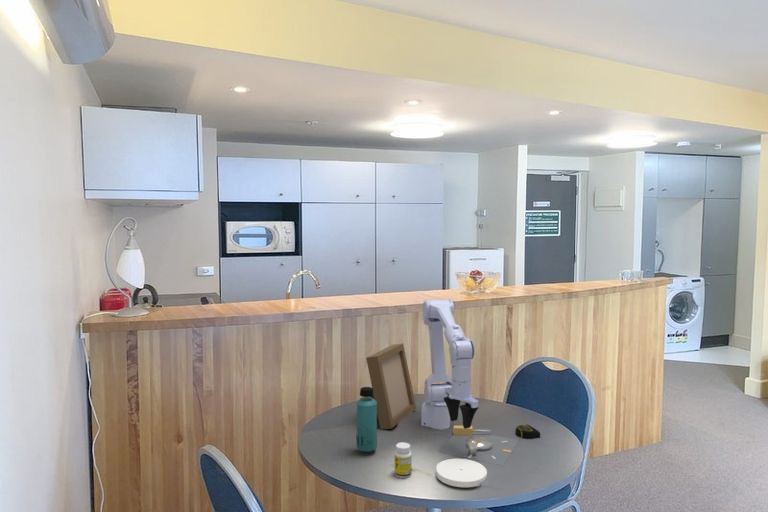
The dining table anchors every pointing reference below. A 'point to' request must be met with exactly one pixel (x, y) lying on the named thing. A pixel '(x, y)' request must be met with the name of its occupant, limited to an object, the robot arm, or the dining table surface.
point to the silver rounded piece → (478, 444)
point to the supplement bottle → (403, 460)
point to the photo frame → (391, 385)
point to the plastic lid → (461, 472)
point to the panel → (494, 455)
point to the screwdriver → (466, 431)
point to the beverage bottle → (366, 421)
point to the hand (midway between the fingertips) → (460, 423)
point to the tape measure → (527, 432)
